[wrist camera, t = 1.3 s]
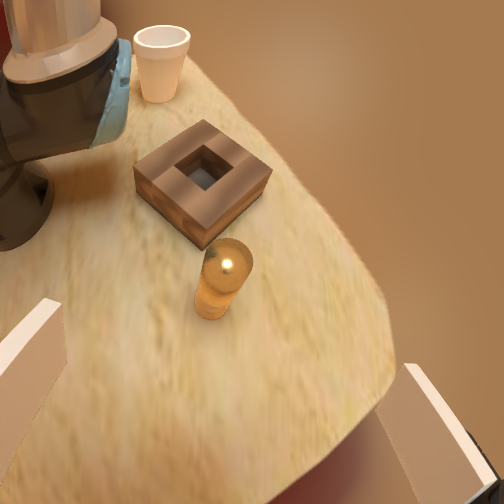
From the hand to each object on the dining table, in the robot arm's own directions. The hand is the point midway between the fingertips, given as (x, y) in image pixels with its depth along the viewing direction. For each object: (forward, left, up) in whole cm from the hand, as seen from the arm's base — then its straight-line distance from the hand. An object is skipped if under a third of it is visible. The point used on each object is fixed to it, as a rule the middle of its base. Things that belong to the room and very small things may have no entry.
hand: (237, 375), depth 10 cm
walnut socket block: (-17, +19, -26) cm, 37 cm away
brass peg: (-5, +8, -26) cm, 28 cm away
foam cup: (-39, +30, -26) cm, 56 cm away
